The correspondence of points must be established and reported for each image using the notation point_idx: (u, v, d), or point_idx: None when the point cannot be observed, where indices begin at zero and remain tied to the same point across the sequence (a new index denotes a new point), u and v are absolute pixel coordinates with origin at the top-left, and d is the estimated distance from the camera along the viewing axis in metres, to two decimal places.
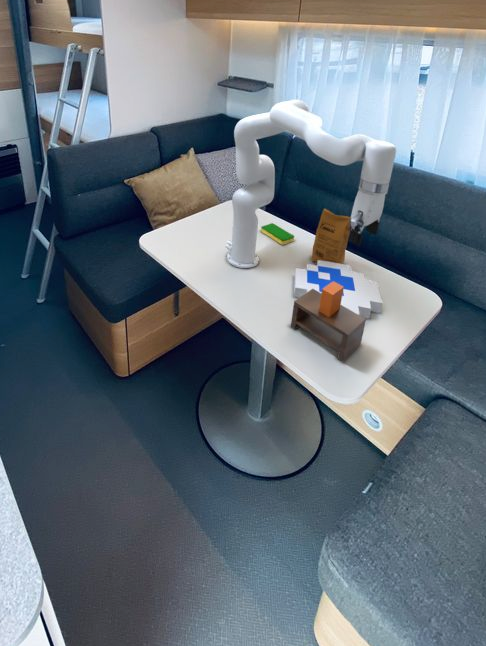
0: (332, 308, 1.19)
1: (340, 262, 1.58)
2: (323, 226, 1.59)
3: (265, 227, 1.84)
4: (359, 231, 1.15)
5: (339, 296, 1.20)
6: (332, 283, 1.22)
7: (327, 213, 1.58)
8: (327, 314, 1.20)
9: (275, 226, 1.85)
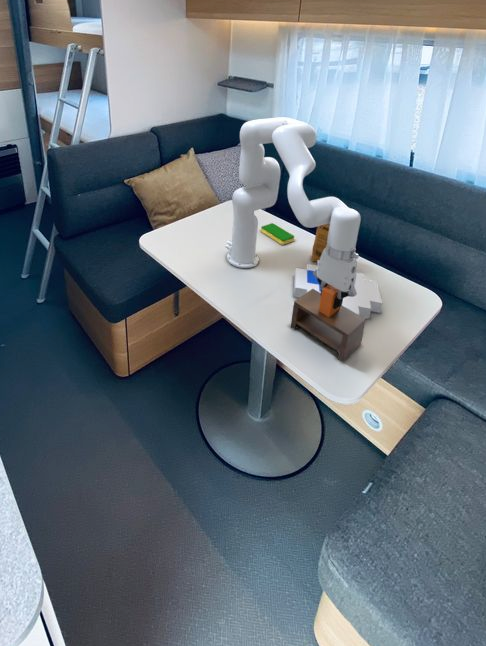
0: (332, 308, 1.19)
1: None
2: (323, 226, 1.59)
3: (265, 227, 1.84)
4: None
5: None
6: None
7: None
8: (327, 314, 1.20)
9: (275, 226, 1.85)
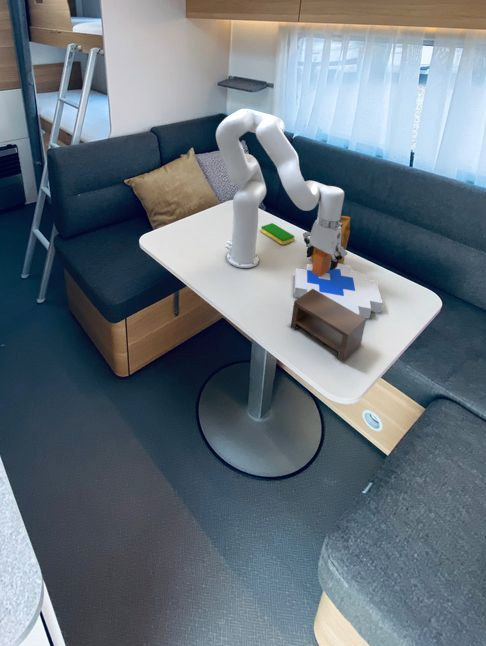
0: (322, 269, 1.47)
1: (340, 262, 1.58)
2: None
3: (265, 227, 1.84)
4: (306, 244, 1.51)
5: (328, 259, 1.48)
6: None
7: None
8: (318, 274, 1.48)
9: (275, 226, 1.85)
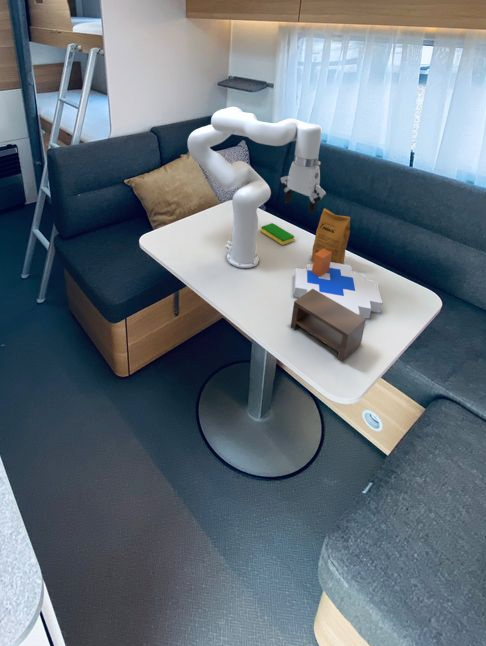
0: (322, 269, 1.47)
1: (340, 262, 1.58)
2: (323, 226, 1.59)
3: (265, 227, 1.84)
4: (284, 189, 1.43)
5: (328, 259, 1.48)
6: (322, 250, 1.50)
7: (327, 213, 1.58)
8: (318, 274, 1.48)
9: (275, 226, 1.85)
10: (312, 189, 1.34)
